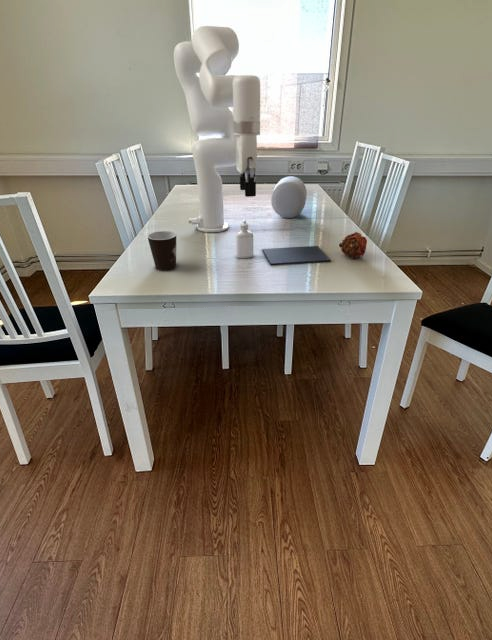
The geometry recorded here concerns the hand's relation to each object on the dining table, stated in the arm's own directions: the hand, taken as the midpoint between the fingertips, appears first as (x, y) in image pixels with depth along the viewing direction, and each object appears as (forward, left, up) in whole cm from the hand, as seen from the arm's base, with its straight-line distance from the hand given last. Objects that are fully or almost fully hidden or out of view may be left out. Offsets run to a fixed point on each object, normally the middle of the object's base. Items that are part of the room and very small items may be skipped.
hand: (247, 193), depth 121 cm
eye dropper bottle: (-1, -1, -20) cm, 20 cm away
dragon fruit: (+35, -6, -20) cm, 41 cm away
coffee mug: (-26, -5, -20) cm, 33 cm away
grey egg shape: (+26, +53, -20) cm, 63 cm away
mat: (+16, -3, -20) cm, 26 cm away
